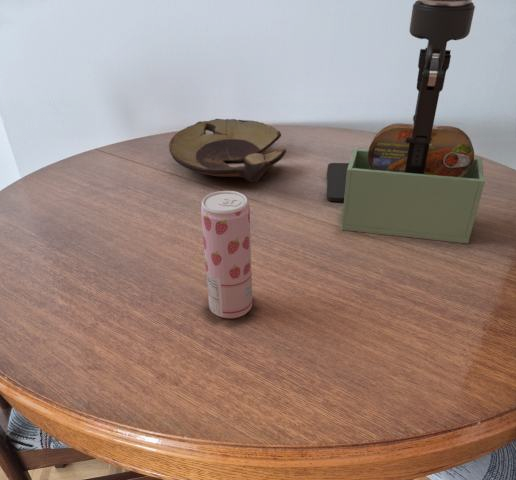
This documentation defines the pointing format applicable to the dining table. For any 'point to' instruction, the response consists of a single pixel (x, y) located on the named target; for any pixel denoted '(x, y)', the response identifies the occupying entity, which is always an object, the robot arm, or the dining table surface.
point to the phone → (336, 181)
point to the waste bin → (411, 202)
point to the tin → (439, 152)
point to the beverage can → (227, 253)
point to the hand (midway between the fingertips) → (412, 180)
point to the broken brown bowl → (226, 148)
